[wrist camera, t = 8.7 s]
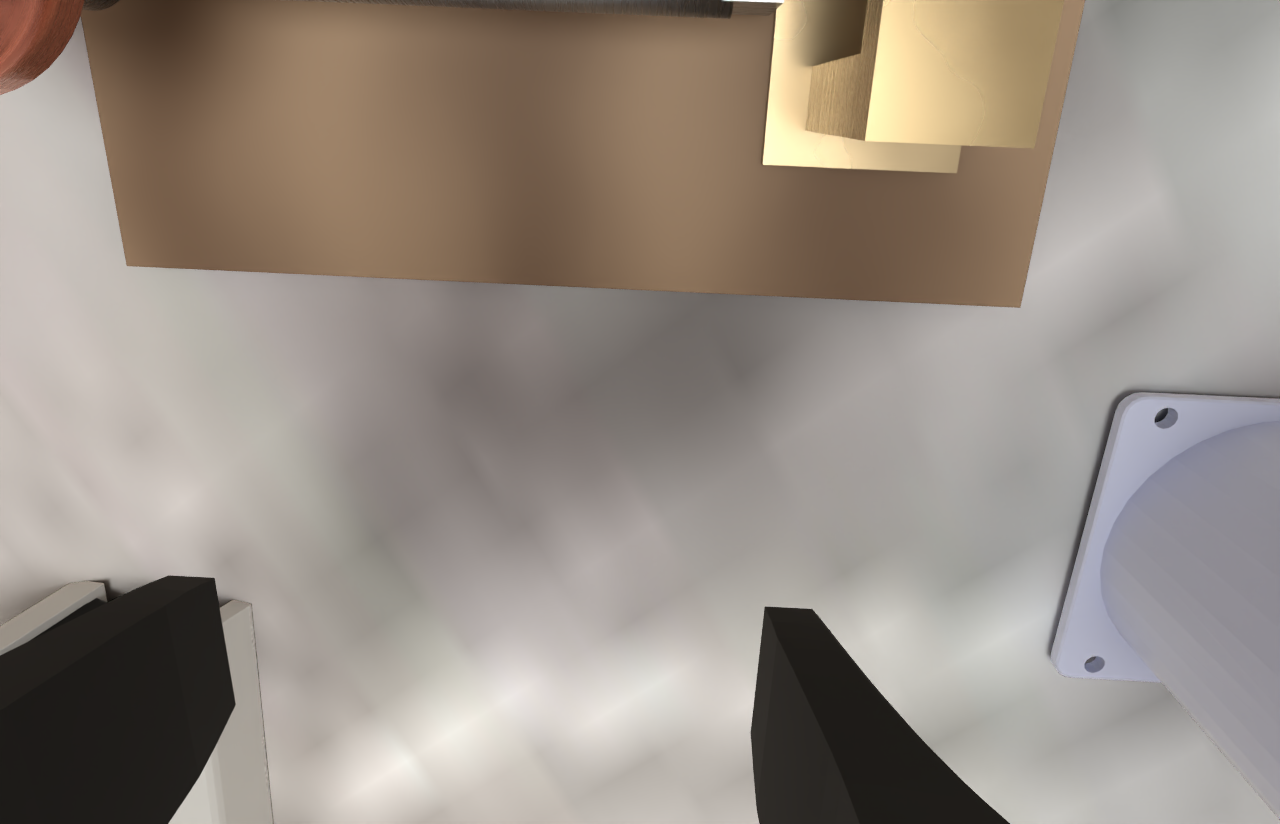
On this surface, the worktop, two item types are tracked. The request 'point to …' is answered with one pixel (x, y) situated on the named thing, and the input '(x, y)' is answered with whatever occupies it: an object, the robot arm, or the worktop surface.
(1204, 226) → the worktop surface
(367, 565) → the worktop surface
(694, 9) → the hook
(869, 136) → the wooden holder
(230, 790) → the grey rounded block
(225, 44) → the board
